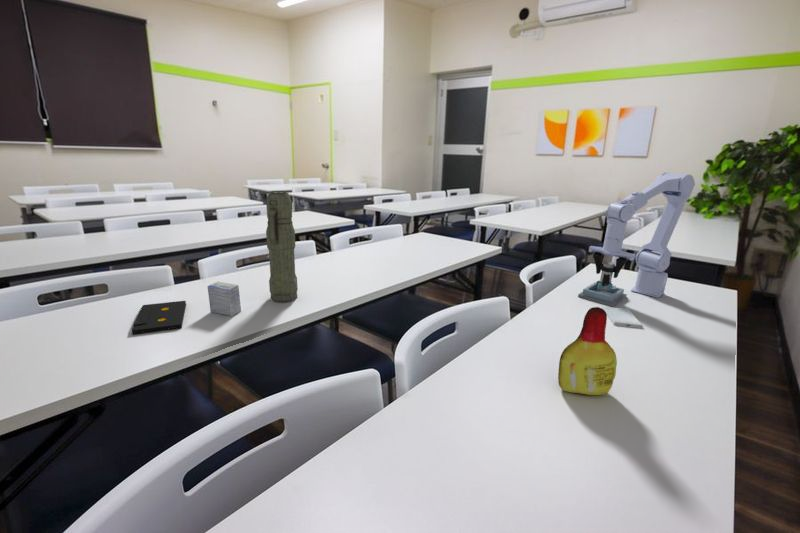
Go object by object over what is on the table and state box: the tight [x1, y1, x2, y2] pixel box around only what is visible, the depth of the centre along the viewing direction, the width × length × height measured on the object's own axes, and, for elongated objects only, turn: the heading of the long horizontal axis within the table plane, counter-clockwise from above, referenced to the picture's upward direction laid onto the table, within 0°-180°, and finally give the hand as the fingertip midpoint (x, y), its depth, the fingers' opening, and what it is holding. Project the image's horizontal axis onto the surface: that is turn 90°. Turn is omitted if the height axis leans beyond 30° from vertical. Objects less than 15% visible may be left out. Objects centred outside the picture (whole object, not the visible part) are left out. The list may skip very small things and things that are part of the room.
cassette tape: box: [131, 300, 187, 336], centre depth 115 cm, size 18×12×2 cm, turn 23°
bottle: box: [557, 306, 618, 396], centre depth 86 cm, size 12×6×20 cm, turn 86°
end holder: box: [577, 281, 628, 308], centre depth 144 cm, size 12×14×3 cm
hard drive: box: [601, 306, 644, 329], centre depth 127 cm, size 2×8×12 cm
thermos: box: [265, 190, 298, 303], centre depth 128 cm, size 9×12×35 cm
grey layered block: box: [207, 281, 242, 317], centre depth 120 cm, size 8×4×9 cm, turn 71°
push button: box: [596, 261, 617, 291], centre depth 143 cm, size 7×5×10 cm
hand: (606, 275), depth 142 cm, fingers closed on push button, 5 cm apart
